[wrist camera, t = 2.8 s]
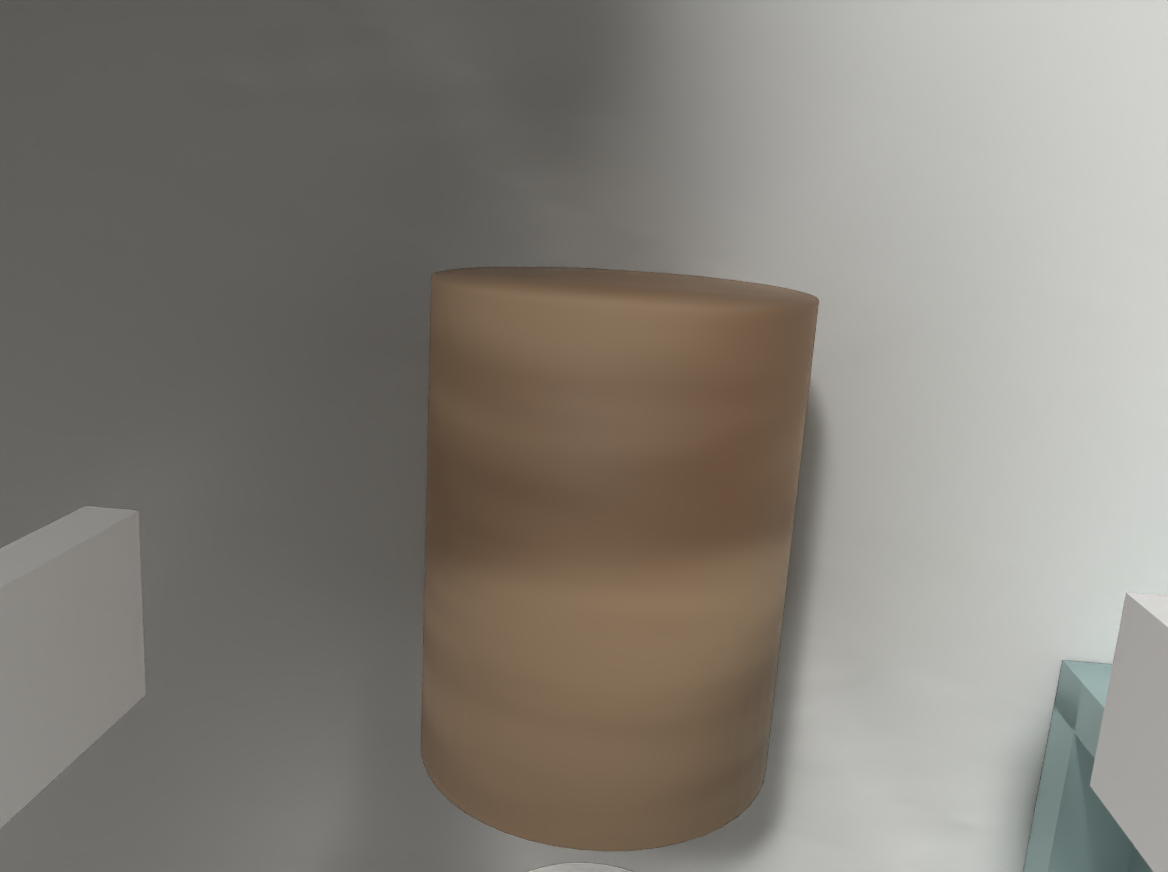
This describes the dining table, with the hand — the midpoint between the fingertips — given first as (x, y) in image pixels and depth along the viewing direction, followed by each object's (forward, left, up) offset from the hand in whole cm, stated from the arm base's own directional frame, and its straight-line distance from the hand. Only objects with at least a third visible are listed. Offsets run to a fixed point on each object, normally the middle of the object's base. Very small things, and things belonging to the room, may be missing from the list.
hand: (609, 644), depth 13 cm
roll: (0, 0, -4) cm, 4 cm away
